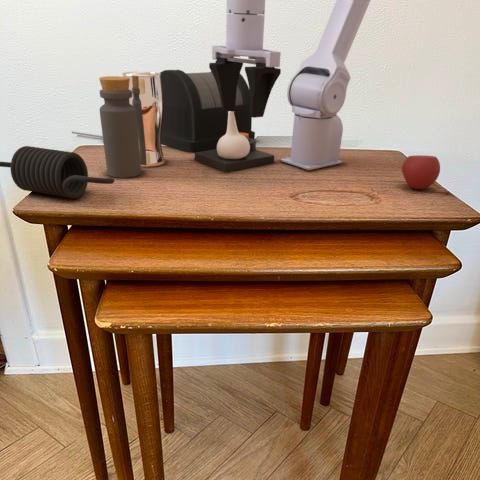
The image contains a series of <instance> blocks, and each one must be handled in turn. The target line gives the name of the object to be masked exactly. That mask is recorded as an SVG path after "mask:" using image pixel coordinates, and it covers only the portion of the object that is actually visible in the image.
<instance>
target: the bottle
mask: <svg viewBox="0 0 480 480" xmlns="http://www.w3.org/2000/svg"><path fill="white" fill-rule="evenodd" d="M98 79H99V83H100V86H101V89H100V90H99V97H100V98H101V99H103V102H104V104H102V105H101V106H100V107H99V118H100V126H101V134H102V135H101V136H103V138H102V141H103V150H104V155H105V156H104V158H105V165H106V166H105V167H106V173H107V175H108V176H109V177H111V178H119V179H125V178H126V179H128V178H129V179H130V178H135V177H138V176H140V175H141V174H142V166H141V164H140V151H139V139H138V128H137V117H136V109H135V107H134V106H132V105H131V104H130V102H129V98H132V91H131V90H129V81H130V79H129V78H127V77H123V76H120V75H119V76H115V75H113V76H101V77H99V78H98Z"/></svg>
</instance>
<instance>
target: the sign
mask: <svg viewBox="0 0 480 480" xmlns="http://www.w3.org/2000/svg"><path fill="white" fill-rule="evenodd" d="M71 134H75V135H81V136H87V137H95V138H101V139H103V135H98V134H92V133H85V132H79V131H71Z"/></svg>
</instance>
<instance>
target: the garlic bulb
mask: <svg viewBox="0 0 480 480" xmlns="http://www.w3.org/2000/svg"><path fill="white" fill-rule="evenodd" d="M216 149H217V153H218V155H219V156H220V157H221V158H224V159H240V158H243V157H245V156H247V155H248V153H249V151H250V144H249V141H248V139H247V138H246V137H245V136H243V135H241V134H240V133H239V132H238V129H237V125H236V121H235V116H234V112H231V111H228V125H227V132H226V134H225V135H224V136H222V137H221V138H220V139H219V141H218V143H217V148H216Z"/></svg>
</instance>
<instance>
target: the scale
mask: <svg viewBox="0 0 480 480" xmlns="http://www.w3.org/2000/svg"><path fill="white" fill-rule="evenodd" d="M248 141H249V144H250V151H249V153H248V155H247V156H245V157H243V158H240V159H224V158H221V157H220V156H219V155H218V153H217V148H214V149H208V150H202V151H196V152H194V160H195V161H197V162H199V163H202V164H204V165H206V166H210V167H212V168H214V169H217V170H219V171H222V172H224V173H227V172H232V171H238V170H242V169H243V170H244V169H247V168H248V169H249V168H255V167H259V166H264V165H269V164H270V165H271V164H274V163H275V155H274V154H271V153H268V152H265V151H262V150H259V149H256V148H257V141H256V139H255V140H254V139H251V138H248Z"/></svg>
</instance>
